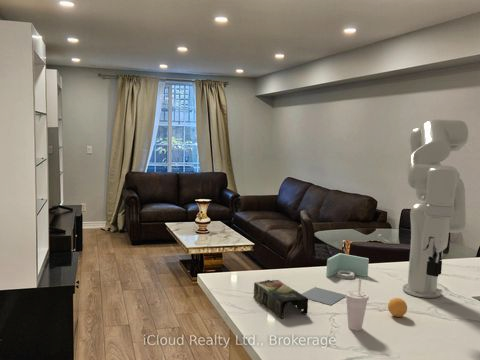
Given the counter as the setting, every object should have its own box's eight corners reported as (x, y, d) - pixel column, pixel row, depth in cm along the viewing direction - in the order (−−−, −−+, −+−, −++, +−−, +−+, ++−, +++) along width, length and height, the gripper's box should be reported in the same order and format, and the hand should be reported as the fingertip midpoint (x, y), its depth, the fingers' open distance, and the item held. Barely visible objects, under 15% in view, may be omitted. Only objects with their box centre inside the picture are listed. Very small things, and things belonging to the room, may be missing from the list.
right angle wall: (326, 278, 178) (327, 259, 177) (338, 271, 188) (339, 253, 187) (356, 285, 171) (357, 265, 170) (367, 277, 181) (368, 258, 180)
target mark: (315, 287, 165) (315, 287, 165) (346, 295, 158) (346, 295, 158) (297, 296, 155) (297, 295, 155) (330, 305, 148) (330, 304, 148)
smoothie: (367, 333, 128) (370, 284, 126) (343, 331, 129) (346, 281, 128) (365, 324, 134) (369, 277, 133) (343, 322, 135) (346, 274, 134)
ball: (391, 311, 145) (392, 294, 145) (409, 315, 142) (410, 298, 141) (384, 316, 141) (385, 298, 140) (402, 321, 138) (404, 303, 137)
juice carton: (250, 297, 154) (251, 278, 153) (276, 294, 158) (277, 276, 157) (279, 321, 136) (281, 300, 135) (308, 317, 140) (310, 297, 139)
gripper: (432, 206, 141) (428, 266, 143) (416, 212, 128) (411, 277, 130) (459, 209, 136) (454, 271, 138) (445, 216, 124) (439, 284, 126)
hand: (433, 274), depth 134 cm, fingers closed
